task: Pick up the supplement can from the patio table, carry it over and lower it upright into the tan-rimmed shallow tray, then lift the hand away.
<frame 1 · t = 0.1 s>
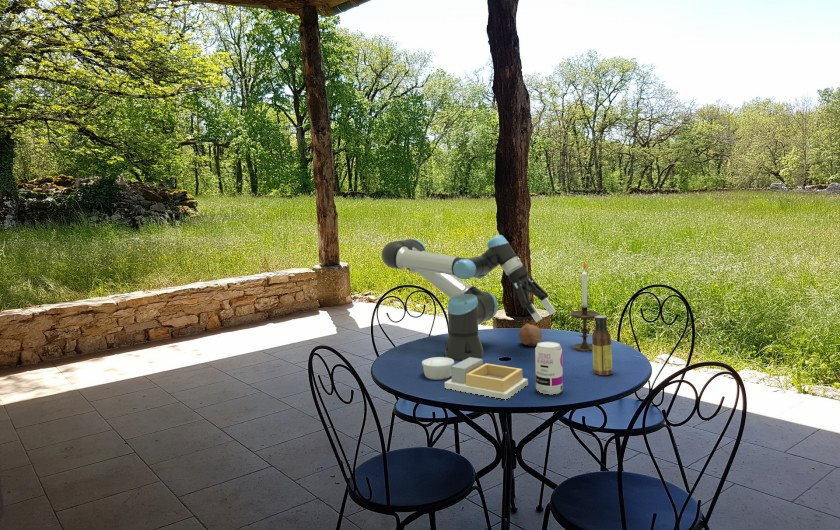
hand: (546, 317, 205), 15 cm above the table, tool tilted 35°, fingers open, 13 cm apart
sauce bottle: (602, 373, 184), on the table
supplement can: (549, 391, 169), on the table
ramekin: (438, 376, 188), on the table
tan-rimmed shallow tray: (486, 386, 175), on the table
candlestick: (584, 349, 215), on the table
onion: (530, 345, 223), on the table
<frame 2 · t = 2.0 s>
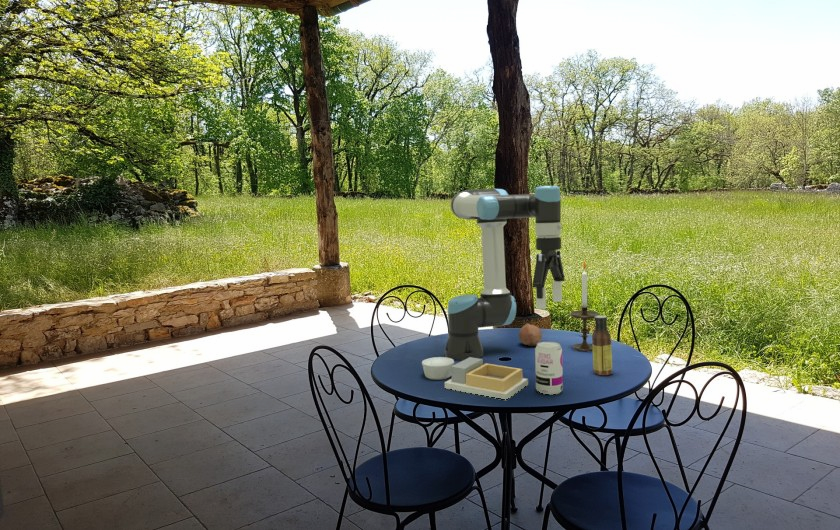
hand: (549, 305, 167), 27 cm above the table, tool pointing down, fingers open, 13 cm apart
nothing on the table moved.
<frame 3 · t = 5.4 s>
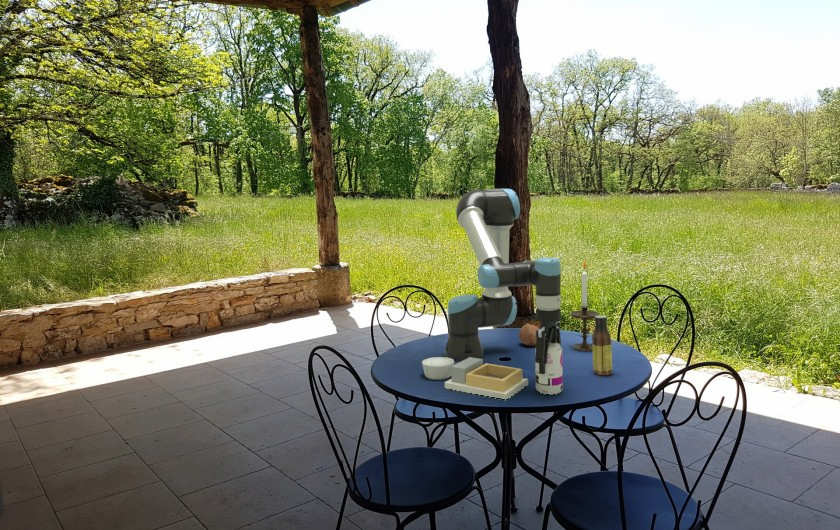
hand: (548, 379, 169), 4 cm above the table, tool pointing down, fingers closed on supplement can, 8 cm apart
supplement can: (549, 391, 169), on the table, touching gripper
everything else where it was.
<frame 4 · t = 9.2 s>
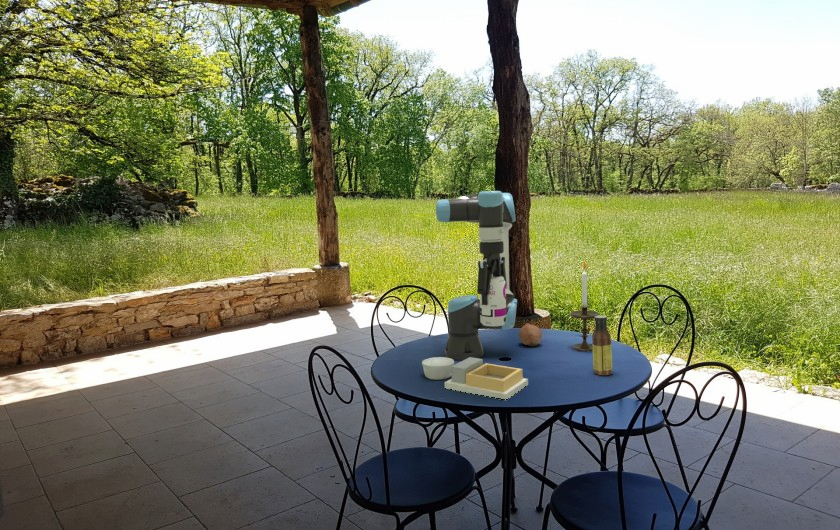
hand: (493, 312, 171), 25 cm above the table, tool pointing down, fingers closed on supplement can, 8 cm apart
supplement can: (493, 324, 171), point 21 cm above the table, touching gripper
everything else where it was.
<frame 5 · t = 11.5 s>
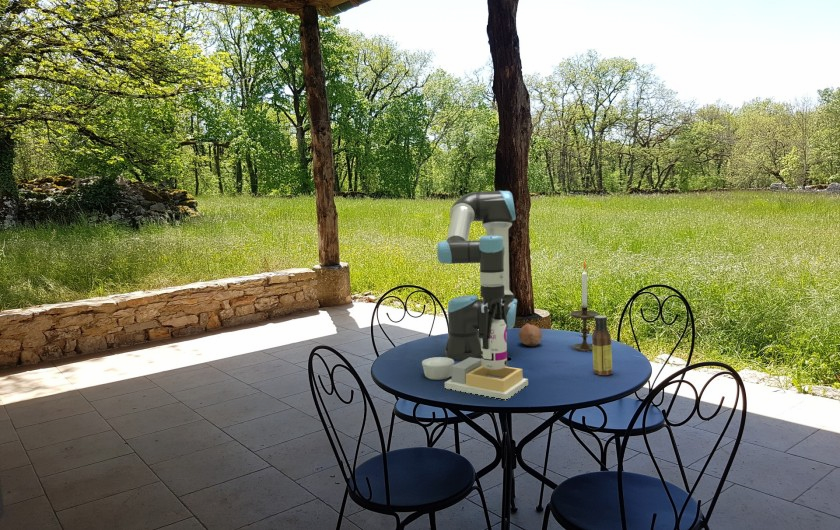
hand: (493, 355, 172), 11 cm above the table, tool pointing down, fingers closed on supplement can, 8 cm apart
supplement can: (494, 367, 173), point 7 cm above the table, touching gripper
everything else where it was.
when the fingers open (7 cm above the table, at t = 13.3 s): supplement can drops 1 cm, resting on tan-rimmed shallow tray.
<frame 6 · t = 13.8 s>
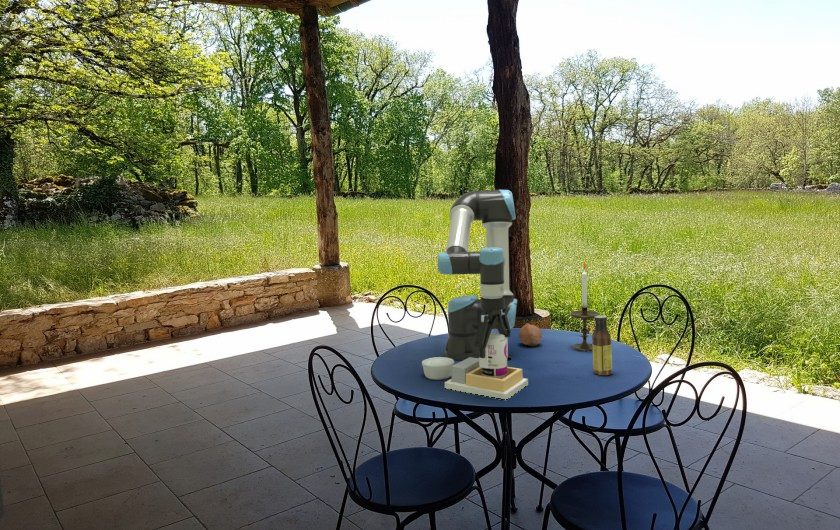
hand: (494, 361, 172), 9 cm above the table, tool pointing down, fingers open, 13 cm apart
supplement can: (494, 382, 173), point 2 cm above the table, touching tan-rimmed shallow tray
everything else where it was.
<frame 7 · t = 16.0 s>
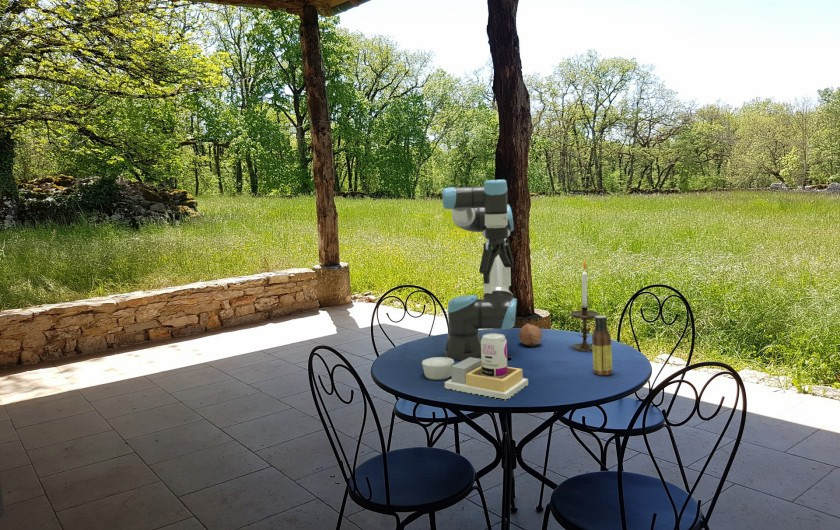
hand: (497, 289, 182), 30 cm above the table, tool pointing down, fingers open, 13 cm apart
nothing on the table moved.
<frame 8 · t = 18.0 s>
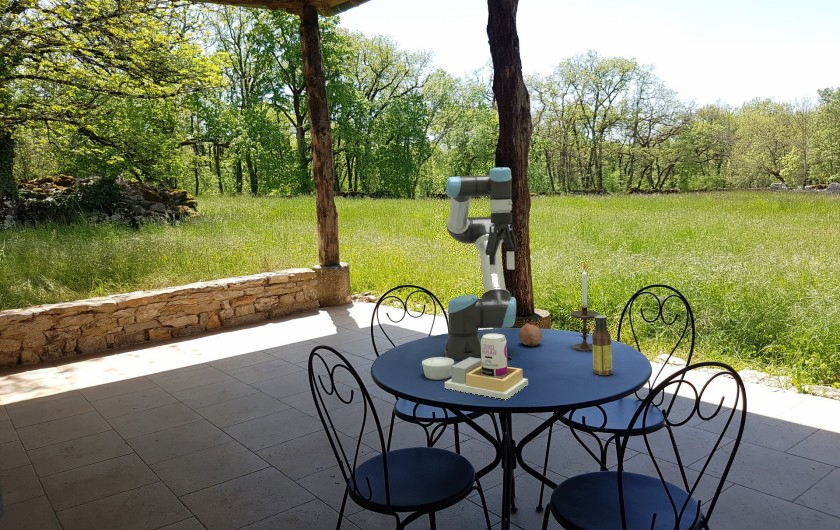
hand: (502, 271, 193), 35 cm above the table, tool pointing down, fingers open, 13 cm apart
nothing on the table moved.
at the end: supplement can 0.1 cm from the target spot on the tan-rimmed shallow tray, point 2.0 cm above the tan-rimmed shallow tray's base; supplement can tilted 0°; the gripper is holding nothing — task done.
